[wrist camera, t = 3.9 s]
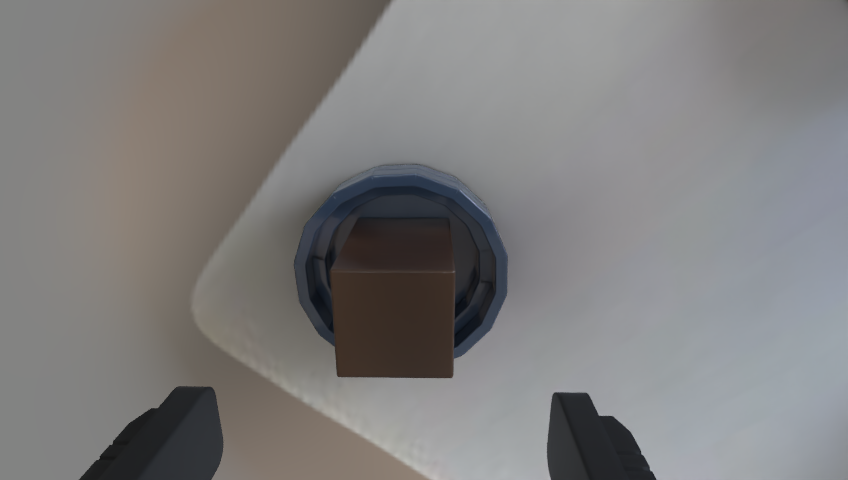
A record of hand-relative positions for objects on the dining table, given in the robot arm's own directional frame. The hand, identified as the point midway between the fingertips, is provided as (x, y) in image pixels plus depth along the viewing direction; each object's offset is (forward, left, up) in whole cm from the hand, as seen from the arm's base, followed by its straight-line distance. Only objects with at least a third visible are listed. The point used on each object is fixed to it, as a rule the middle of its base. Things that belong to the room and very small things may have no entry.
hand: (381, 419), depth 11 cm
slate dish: (0, 0, -11) cm, 11 cm away
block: (0, 0, -11) cm, 11 cm away
